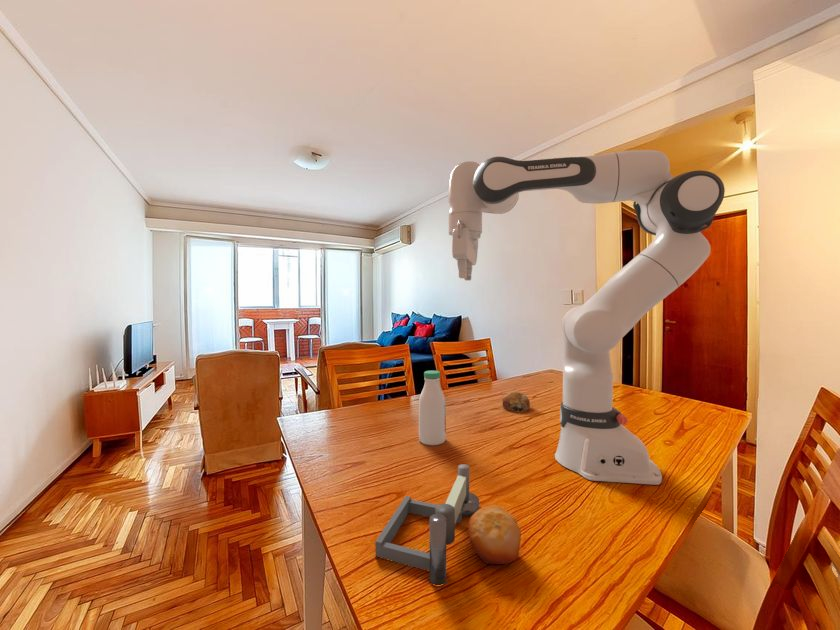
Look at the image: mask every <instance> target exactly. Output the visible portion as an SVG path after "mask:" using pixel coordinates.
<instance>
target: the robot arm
mask: <svg viewBox="0 0 840 630" xmlns="http://www.w3.org/2000/svg"><path fill="white" fill-rule="evenodd" d="M670 171H671V163H670V160H669V158H668V156H667V154H665V153H664V152H663V151H661V150H654V149H632V150H620V151H615V152H614V151H613V152H607V153H600V154H595V155H594V154H593V155H587V156H568V157H567V156H566V157H555V158H554V157H553V158H543V159H533V160H531V159H530V160H518V159H517V160H516V159H513V158H509V157H506V156H493V157H490V158H487V159H486V160H484V161H483V162H481V164H479V163H478V162H476V161H464V162H462V163H461V162H460V163H459V164H458V165H456V166H455V167H454V168H453V169H452V171H451V172H450V175H449V181H448V203H449V211H448V235H450V236H452V246H451V253H452V258H453V259H455V260H456V261H457V262H456V263H457V269H458V278H460V279H464V280H465V281H471V280H472V273H473V266H476V264H477V262H478V261H477V259H478V249H479V239H481V234H482V233H483V213H485V214H496V215H502V214H506V213H508V212H510V211H511V210H513V209H514V207H515V206H516V205H517V202H518V200H519V197H520V196H519V194H520V193H522V192H532V191H544V190H545V191H546V190H561V191H562V190H563V191H566V192H568V193H569V194H571V195H572V196H573V197H574V198H575V200H577V201H578V202H580V203H582V204H592V205H593V204H595V205H596V204H598V205H599V204H600V205H601V204H610V203H617V202H626V201H629V202H630V201H632V202H633V204H632V205H633V209H634V212H635V214H636V219H637V223H638V225H639V226H640V228H641V229H642V230H643V231H644V232H645V233H647V234H649V235H652V236H654V239H652V241H651V242H650V244H649V245H648V246H647V247H645V248H644V249H643V250H642V251H640V252H639V253H638V254H637V255H636V256H635V257H633V258H632V259H631V260H630V261H629V262H628V263H627V264H625V265H623V267H622V268H620V269H619V270H618V271H617V272H616V273H614V275H612V276H611V277H610V278H609V279H608V280H607V281H606V282H605V283H604V285H602V286H601V288H599V290H598V291H596V292H595V293H594V294H593V295H592V296H591V297H590V298H589V299H588V300H587V301H586V302H584V303H583V304H582V305H577V306H574V307H572V308H571V309H569V310H568V311H567V312H566V313H565V314H564V316H563V317H562V320H561V355H562V357H561V358H562V359H561V360H562V401H561V403H560V408H559V423H560V425H561V427H560V434H559V438H558V439H559V440H558V444H557V448H556V451H555V454H554V458H555V460H556V462H557V463H559V465H561V466H563V467H564V468H567V469H569V470H571V471H573V472H576V473H577V474H579V475H580V476H582V477H583V478H585V479H586V480H589V481H595V482H596V481H597V482H609V483H624V484H625V483H626V484H638V485H651V486H652V485H653V486H654V485H656V486H658V485H660V484H661V483H662V482H663V477H662V476H663V475H662V472H661V470H660V468H659V466H658V465H657V464H655V462H654V461H652V460H651V459H650V456H649V452H648V449H647V446H646V445H645V444H644V442H643V441H642V440H641V439H640V438H639V437H638V436H636V435H635V434H634V433H632V432H631V431H630V430H629V429H627V428H626V427H625V425H627V424H628V422H629V419H628V418H627V417H626V415H625V414H622V412H621V411H620V410H618V409H617V408H616V407H613V401H614V399H613V393H614V389H613V387H614V386H613V385H614V383H613V382H614V374H613V371H612V364H611V363H612V362H611V356H610V355H611V354H610V351H611V350H613V349H614V348H615V347H616V346H617V345H618V344H619V342H620V341H621V339H623V338H624V337H625V336H626V335H627V334H628V333H629V332H630V331H631V330H632V329H633V328H634V327H635V326H636V325H637V323H639V321H640V320H641V319H642V318H643V317H644V316H645V315H646V314H647V313H648V312H650V311H651V310H652V309H653V308H654V307H655V306H657V305H658V304H659V303H660V302H662V301H663V300H664V299H665V298H667V297H668V296H669V295H671V294H672V293H673V292H675V291H676V290H677V289H678V288H679V287H680V286H681V285H683V284H684V283H685V282H686V281H687V280H688V279H690V277H691V276H693V275H694V274H695V273H696V272H697V271H698V270H699V268H700V267H701V266H702V265H703V264H704V263H705V261H706V260H707V259H708V258H709V257H710V254H711V245H710V242H709V240H708V239H707V238H706V237H705V235H704V234H703V233H702V232H703V231H705V230H707V229H709V228H710V227H711V226H712V224H713V221H714V219H715V216H716V214H717V213H718V210H719V209H720V208H721V204H722V202H723V200H724V196H725V191H726V190H725V189H726V188H725V185H724V182H723V181H722V179H721V178H720V177H719V176H718V175H717V174H716V173H714V172H711V171H708V170H691V171H686V172H684V173H680V174H678V175H676V176H673V175H672V173H671V172H670Z"/></svg>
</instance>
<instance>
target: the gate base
mask: <svg viewBox="0 0 840 630" xmlns="http://www.w3.org/2000/svg"><path fill="white" fill-rule="evenodd" d="M478 509H480V499H479V497H478V496H477V495H476V494H475V493H472V492H470V491H469V500H468V501H466V502H463V505H462V508H461V510H462V518H471V516H472V515H473V514H474V513H475V512H476V511H477V510H478Z"/></svg>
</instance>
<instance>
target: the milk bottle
mask: <svg viewBox="0 0 840 630" xmlns="http://www.w3.org/2000/svg"><path fill="white" fill-rule="evenodd" d="M423 377H424V379H423V380H424V385H423V388H422V390H421V393H420V395H419V399H418V441H419V442H420V443H422V444H424V445H427V446H439V445H442V444H444V443H445V441H446V438H447V437H446V433H447V427H446V426H447V425H446V421H447V420H446V417H447V416H446V415H447V413H446V412H447V411H446V409H447V408H446V397H445V394H444V392H443V389H442V386H441V383H440V380H441V372H440V371H439V370H426V371H424V372H423Z"/></svg>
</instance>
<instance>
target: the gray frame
mask: <svg viewBox="0 0 840 630" xmlns="http://www.w3.org/2000/svg"><path fill="white" fill-rule="evenodd" d="M438 505H439V504H435V503H430V502H425V501H421V500H420V501H419V500H415V499H412V498H411V496H409V495H408V496H407V495H405V496H404V498H403V499H402V501H401V502H400V504H399V506H398V507H397V509H396V510H395V511H394V513H393V515H392V516H391V517H390V519H389V520H388V522H387V523H386V525H385V526H384V528H383V529H382V531H381V532H380V534H379V535H378V537H377V538H376V540H375V549H374V550H375V557H376V556H378V557H382V558H385V559H389V560H392V561H391V562H393V561H395V562H394V563H396V562H398V563H397V564H400V563H402V564H401V565H403V564H406V565H405V566H407V565H409V566H408V567H411V566H413V567H412V568H414V567H417V568H416V569H418V568H422V569H425V570H429V571H430V552H426V551H421V550H418V549H414V548H410V547H406V546H403V545H397V544H395V543H392V541H393V539H394V538H395V536H396V535H397V533H398V531H399V530H400V528H401V527H402V525H403V523H404V521H405V520H406V519H407V516H408V515H409V514H413V515H414V514H415V515H418V516H419V515H420V516H423V517H427V518H430V517H431V516H432V515H434V514H435V508H436V507H437V506H438ZM462 518H463V517H462V510H460V513H459V516H458V519H457V521H456V524H460V525H461V524H462V520H463V519H462ZM378 557H377V558H378ZM382 558H381V559H382ZM385 559H384V560H385ZM389 560H388V561H389ZM422 569H421V570H422ZM425 570H424V571H425ZM429 571H428V572H429Z"/></svg>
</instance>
